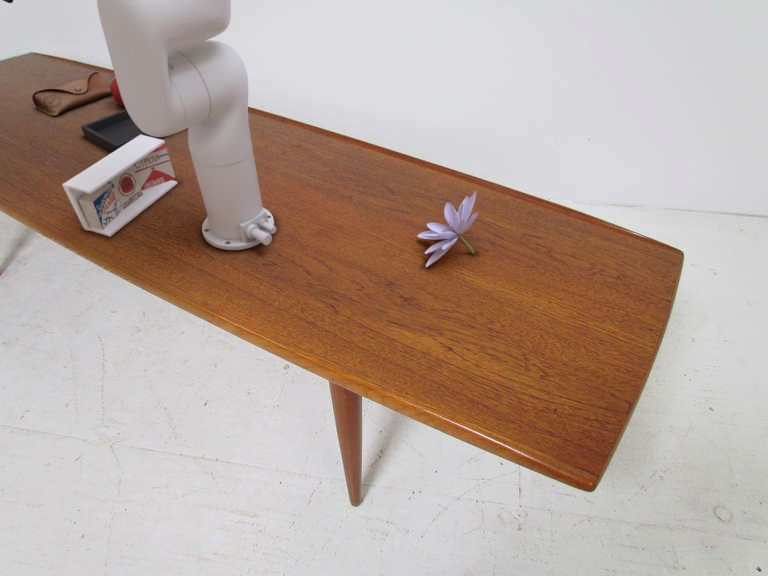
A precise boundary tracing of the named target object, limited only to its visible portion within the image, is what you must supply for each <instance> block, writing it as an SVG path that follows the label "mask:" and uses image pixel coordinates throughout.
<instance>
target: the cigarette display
mask: <svg viewBox="0 0 768 576" xmlns="http://www.w3.org/2000/svg"><path fill="white" fill-rule="evenodd" d="M165 143H166V141H165V140H164V139H157V138H153V137H149V136H145V135H141V134H140V135H139V136H137V137H136V138H134V139H133V140H131V141H130V142H128V143H126V144H125V145H123V146H122V147H120V148H119V149H117V150H116V151H114V152H111V153H109V154H108V155H106V156H104V157H103V158H101V159H99V160H98V161H96V162H95V163H94V164H91V166H89V167H87V168H86V169H84V170H82V171H81V172H80V173H78V174H76V175H75V176H73V177H72V178H70V179H68V180H67V181H65V182H63V183H62V184H61V186H62V188H63V190H64V192H65V194H66V195H67V198H68V200H69V202H70V205H71V206H72V208H73V210H74V212H75V214H76V216H77V218H78V220H79V222H80V224H81V226H82V228H83V229H84V231H87V232H89V231H90V232H93V233H96V234H100V235H104V236H106V237H109V238H110V237H112V236H113V235H114V234H116V233H117V232H118V231H120V229H122V228H123V227H124V226H126V225H127V224H128V223H129V222H131V221H132V220H133V219H135V218H136V217H137V216H138V215H140V214H141V213H142V212H144V211H145V210H146V209H147V208H148V207H150V206H151V205H152V204H153V203H155V202H156V201H157V200H159V199H160V198H161V197H163V196H164V195H165V194H166V193H167V192H169V191H170V190H171V189H173V188H174V187H175V186H176V185H178V183H179V182H178V181H176V175H175V171H174V168H173V164H172V162H171V158H170V154H169V152H168V148H167V147H166V146H165V145H164V144H165ZM162 145H163V146H162Z"/></svg>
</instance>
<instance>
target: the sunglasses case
mask: <svg viewBox="0 0 768 576" xmlns="http://www.w3.org/2000/svg"><path fill="white" fill-rule="evenodd" d="M110 85H111V83H109V82H108V81H107V80H106V79H104V77H103V76H102V75H100V73H99V72H98V71H94V72H92V73H89V74H88V75H85V76H82V77H78V78H75V79H72V80H69V81H66V82H63V83H60V84H58V85H54V86H52V87H49V88H44V89H40V90H37V91H34V93H33V94H32V96H31V100H32V102H33V104H34V106H35V108H36V109H37V110H38V111H40V112H43V113H45V114H47V115H50V116H53V117H57V116H59V115H61V114H63V113H65V112H68V111H70V110H73V109H74V110H75V109H77V108H79V107H82V106H85V105H88V104H90V103H93V102H97V101H100V100H102V99H104V98H108V97H109V96H112V93H111V89H110Z"/></svg>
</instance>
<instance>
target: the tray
mask: <svg viewBox="0 0 768 576" xmlns="http://www.w3.org/2000/svg"><path fill="white" fill-rule="evenodd" d="M80 128H81V130H82V132H83V135H84V137H85V138H86V139H88V140H90V141H91V142H93V143H95V144H97V145H98V146H100V147H101V148H103V149H105V150H107V151H109V152H111V153H112V152H114V151H116V150H117V149H119V148H120V147H122V146H123V145H125V144H126V143H128V142H130V141H131V140H133V139H134V138H136V137H137V136H139V135H140V134H141V135H145V136H149V137H153V138H157V139H161V140H163V139H165V138H167V137H168V136H165V137H154V136H150V135H148V134H146V133H144V132H143V131H142V130H140V129H139V128H138V127H137V126H136V124H135V123H134V122H133V121H132V119H131V117H130V116H129V114H128V112H127V110H126V108H124V109H123V110H119V111H117V112H115V113H112V114H110V115H107V116H104V117H101V118H98V119H96V120H94V121H90V122H89V123H86V124H82V125H81V126H80Z"/></svg>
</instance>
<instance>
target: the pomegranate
mask: <svg viewBox="0 0 768 576" xmlns="http://www.w3.org/2000/svg"><path fill="white" fill-rule="evenodd" d="M113 77H114V79H112V81H111V82H110V89H111V93H112V94H111V96H112V98H113V100H114V101H115V102H116V103H117V104H119V105H121V106H122V107H125V105H124V103H123V100H122V97H121V94H120V91H119V87H118V84H117V80H116V77H115V73H114V74H112V75H110V76H109V78H113Z"/></svg>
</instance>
